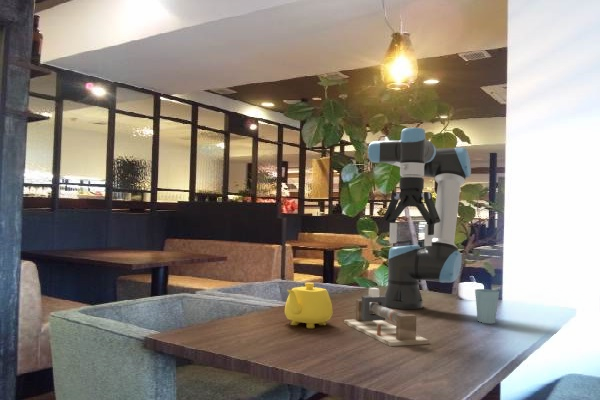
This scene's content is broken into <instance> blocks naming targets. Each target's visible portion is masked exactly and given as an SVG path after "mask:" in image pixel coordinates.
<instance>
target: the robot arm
mask: <svg viewBox="0 0 600 400" xmlns="http://www.w3.org/2000/svg"><path fill="white" fill-rule="evenodd" d="M426 138H427V137H426V130H425V129H424V128H421V127H406V128H403V129H402V130H401V133H400V139H399V140H396V139H395V140H374V141H371V142H370V143H369V144H368V148H367V155H368V160H369V161H370V163H375V164H381V163H382V164H383V163H384V164H389V165H392V166H395V167H399V168H400V169H399V176H400V178H399V186H398V188H399V190H400V191H399V192H392V193H391V199H390V200H389V203H388V206H387V208H386V210H385V213H384V216H383V221H386V222H387V224H388V225H387V226H388V227H387V232H388V233H389V238H388V239H389V240H388V241H389V242H388V243H389V244H397V241H398V240H397V239H398V238H397V236H398V235H397V233H398V223H397V222H396V221H397V220H398V218H399V217H400V216H401V214H402V213H403V211H404V209H406V208H407V207H410V208H411V207H414V208H417V210H418V212H419V214H420V215H421V216H422V218H423V219H424V221H425V222H426V224H424V239H423V241H424V244H423V245H424V247H425V249H423V248H421V247H420V245H419V244H418V245H417V244H415V245H413V244H412V245H403V246H402V245H401V246H393V247H390V249H389V250H388V258H387V261H388V262H387V263H388V264H387V265H388V266H387V268H388V269H387V285H386V286H387V287H386V288H385V293H384V294H383V296H384V297H386V308H391V309H392V308H394V309H399V310H400V309H401V310H402V309H403V310H416V309H417V310H418V309H419V310H420V309H422V308H423V305H424V300H423V298H422V297H423V296H422V294H421V290H420V287H419V285H420V284H419V281H426V282H427V281H428V282H439V283H454V282H455V281H456V280H457V279H458V277H459V275H460V271H461V267H462V261H463V260H462V259H463V258H462V253H461V252H460V251H459V249H458V248H459V247H458V246H457V245H456V243H455V238H456V237H455V236H456V229H457V228H456V227H457V222H458V221H457V220H458V212H459V201H460V195H461V186H462V185H464V184H465V183H466V179H467V178H470V177H471V174H472V167H471V166H472V165H471V158H470V154H469V152H468V150H467V149H466V148H464V147H450V148H449V147H448V148H447V147H446V148H445V147H443V148H441V147H440V148H437V147H436V146H435V144H433V143H432V142H431V140H428V139H426ZM423 177H425V178H434V181H435V182H436V183H437V189H436V196H435V197H436V198H435V203H434V200H433V194H432V192H431V191H429V192H428V191H424V192H423V190H424V189H425V188H424V187H425V185H424V184H425V180H424V178H423ZM423 200H424V202H423ZM424 203H425V204H424Z"/></svg>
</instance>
